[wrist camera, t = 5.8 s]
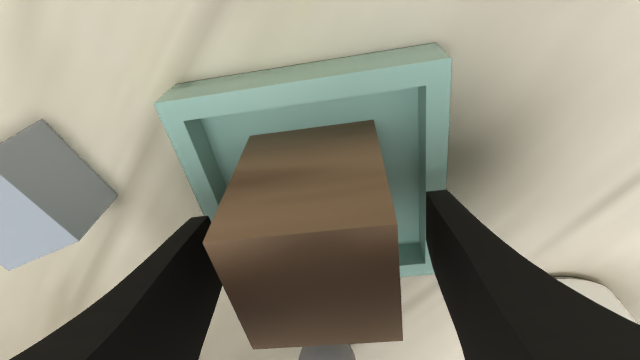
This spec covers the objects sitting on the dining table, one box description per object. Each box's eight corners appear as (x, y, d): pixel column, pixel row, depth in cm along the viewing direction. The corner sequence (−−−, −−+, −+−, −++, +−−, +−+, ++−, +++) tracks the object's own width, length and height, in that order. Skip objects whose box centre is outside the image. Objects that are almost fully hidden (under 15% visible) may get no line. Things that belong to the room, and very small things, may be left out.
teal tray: (432, 243, 16) (442, 273, 15) (246, 260, 17) (238, 290, 16) (436, 42, 11) (451, 57, 10) (175, 84, 12) (153, 103, 11)
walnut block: (381, 217, 15) (402, 340, 10) (277, 227, 15) (253, 349, 11) (373, 119, 12) (397, 223, 8) (249, 135, 13) (202, 242, 8)
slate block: (120, 192, 15) (78, 241, 13) (57, 221, 16) (9, 270, 14) (44, 117, 13) (-21, 156, 11) (-21, 155, 14) (-94, 199, 12)
